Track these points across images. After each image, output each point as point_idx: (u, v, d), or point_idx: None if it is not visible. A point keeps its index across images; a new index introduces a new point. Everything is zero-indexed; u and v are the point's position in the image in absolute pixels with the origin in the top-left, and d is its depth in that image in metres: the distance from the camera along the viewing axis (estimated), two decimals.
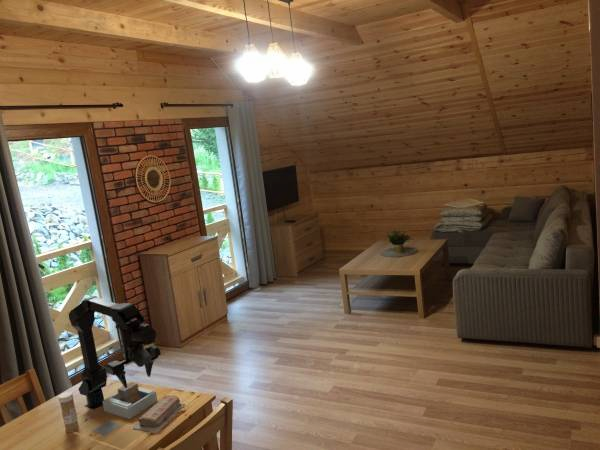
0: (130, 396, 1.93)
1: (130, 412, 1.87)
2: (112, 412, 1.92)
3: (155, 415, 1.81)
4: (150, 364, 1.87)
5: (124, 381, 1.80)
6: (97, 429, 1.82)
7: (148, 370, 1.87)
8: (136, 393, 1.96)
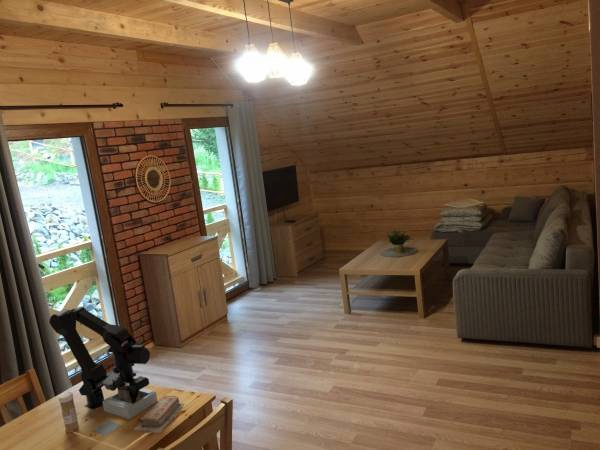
0: (130, 396, 1.93)
1: (130, 412, 1.87)
2: (112, 412, 1.92)
3: (157, 415, 1.81)
4: (130, 392, 1.92)
5: None
6: (97, 429, 1.82)
7: None
8: None
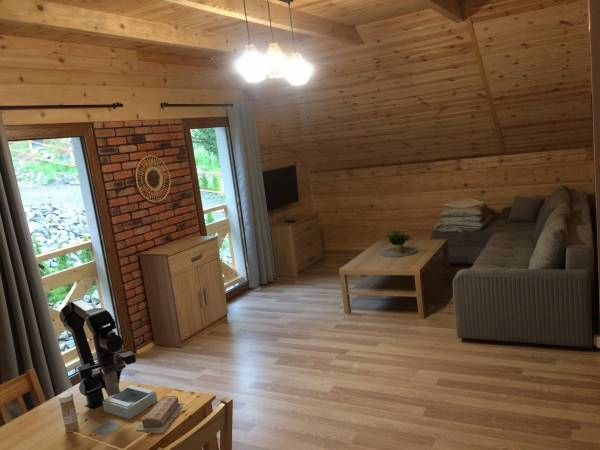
0: None
1: (130, 412, 1.87)
2: (112, 412, 1.92)
3: (159, 414, 1.81)
4: (118, 373, 1.85)
5: (102, 383, 1.83)
6: (97, 429, 1.82)
7: None
8: None
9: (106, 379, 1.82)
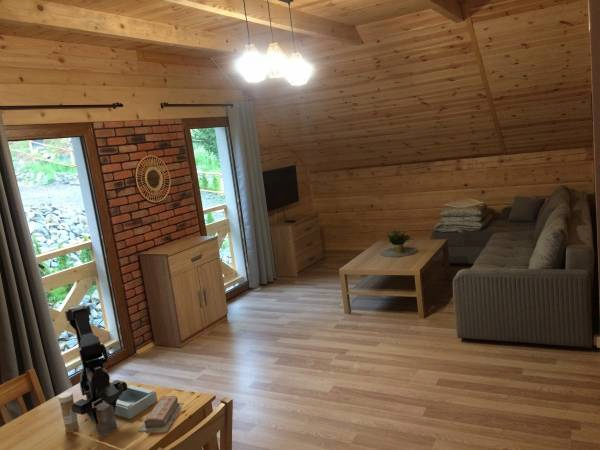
0: None
1: (130, 412, 1.87)
2: None
3: (161, 414, 1.81)
4: (114, 401, 1.84)
5: (95, 418, 1.78)
6: None
7: None
8: None
9: (105, 415, 1.78)
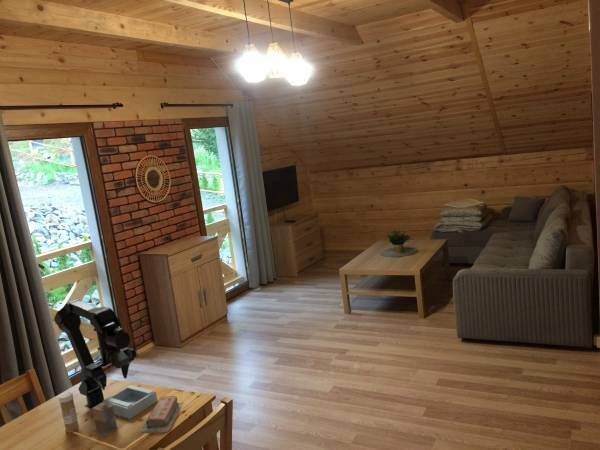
0: None
1: (130, 412, 1.87)
2: None
3: (162, 414, 1.81)
4: (126, 366, 1.92)
5: (102, 383, 1.84)
6: None
7: (124, 372, 1.92)
8: None
9: (105, 415, 1.78)
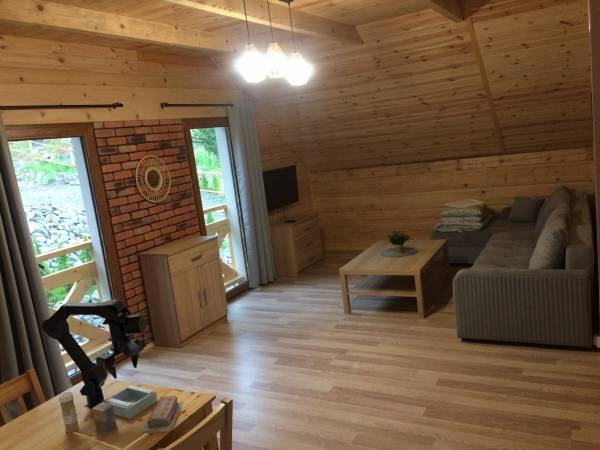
0: None
1: (130, 412, 1.87)
2: None
3: (163, 414, 1.81)
4: (136, 356, 2.00)
5: (114, 372, 1.92)
6: None
7: (134, 361, 2.00)
8: None
9: (105, 415, 1.78)
